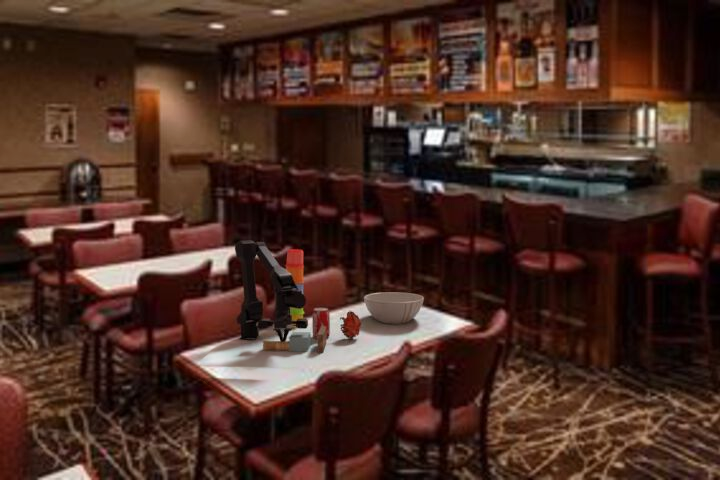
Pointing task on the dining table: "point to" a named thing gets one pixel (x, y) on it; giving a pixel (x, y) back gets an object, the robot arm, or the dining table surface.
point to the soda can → (321, 321)
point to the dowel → (276, 346)
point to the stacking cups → (296, 277)
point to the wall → (321, 339)
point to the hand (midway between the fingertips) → (283, 345)
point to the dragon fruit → (351, 325)
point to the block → (299, 341)
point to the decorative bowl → (393, 306)
